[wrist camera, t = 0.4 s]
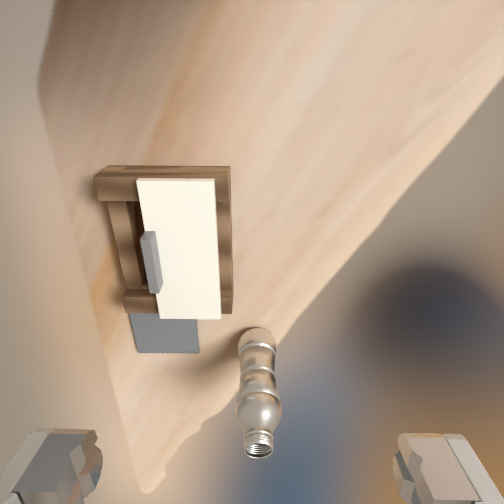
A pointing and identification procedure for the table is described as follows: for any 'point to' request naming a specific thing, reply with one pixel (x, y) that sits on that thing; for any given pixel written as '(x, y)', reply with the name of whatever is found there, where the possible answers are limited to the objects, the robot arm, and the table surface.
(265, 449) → the plastic bottle
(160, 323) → the coaster
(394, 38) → the table surface
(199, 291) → the lid
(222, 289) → the wooden box
